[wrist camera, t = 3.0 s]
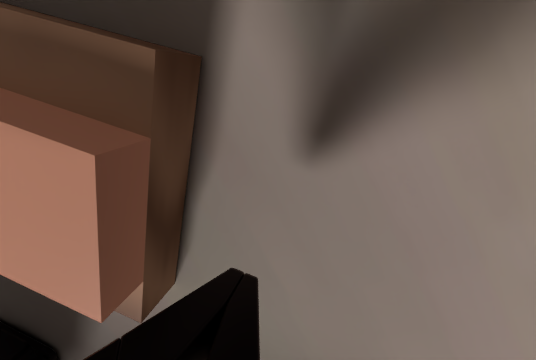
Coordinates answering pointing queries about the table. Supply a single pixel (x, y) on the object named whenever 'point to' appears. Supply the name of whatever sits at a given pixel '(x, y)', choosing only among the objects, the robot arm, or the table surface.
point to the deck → (115, 114)
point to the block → (71, 205)
